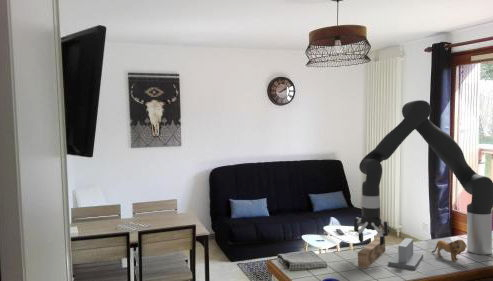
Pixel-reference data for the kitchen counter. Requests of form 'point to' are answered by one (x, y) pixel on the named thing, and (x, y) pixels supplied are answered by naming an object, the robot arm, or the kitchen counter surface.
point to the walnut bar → (370, 253)
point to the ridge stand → (406, 256)
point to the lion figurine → (451, 248)
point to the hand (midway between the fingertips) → (371, 243)
